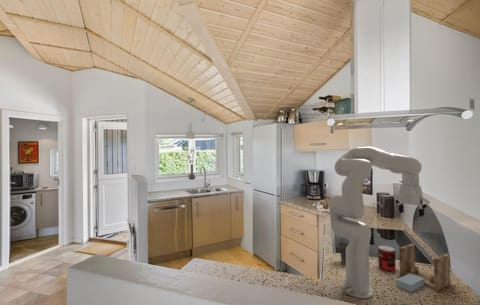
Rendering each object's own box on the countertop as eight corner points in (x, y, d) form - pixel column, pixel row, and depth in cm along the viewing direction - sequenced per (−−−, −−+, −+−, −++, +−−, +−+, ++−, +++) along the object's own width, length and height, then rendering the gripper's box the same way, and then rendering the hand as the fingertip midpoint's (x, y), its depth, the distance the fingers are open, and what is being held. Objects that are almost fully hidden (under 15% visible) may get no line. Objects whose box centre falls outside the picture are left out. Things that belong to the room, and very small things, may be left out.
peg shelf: (437, 290, 110) (437, 259, 111) (399, 275, 125) (399, 247, 125) (450, 284, 116) (449, 254, 116) (412, 269, 131) (412, 243, 131)
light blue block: (410, 293, 109) (410, 285, 109) (396, 286, 115) (396, 279, 115) (424, 286, 115) (424, 278, 115) (410, 280, 120) (410, 273, 120)
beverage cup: (338, 259, 144) (338, 225, 144) (351, 261, 142) (351, 226, 142) (339, 265, 137) (339, 229, 137) (353, 266, 135) (353, 230, 135)
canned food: (379, 263, 138) (379, 244, 138) (396, 267, 133) (396, 247, 133) (377, 268, 132) (376, 248, 132) (394, 273, 127) (394, 251, 127)
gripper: (390, 181, 137) (390, 212, 137) (425, 184, 122) (426, 219, 121) (397, 180, 140) (398, 210, 140) (432, 183, 125) (433, 217, 125)
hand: (411, 214), depth 131 cm, fingers open, 9 cm apart
